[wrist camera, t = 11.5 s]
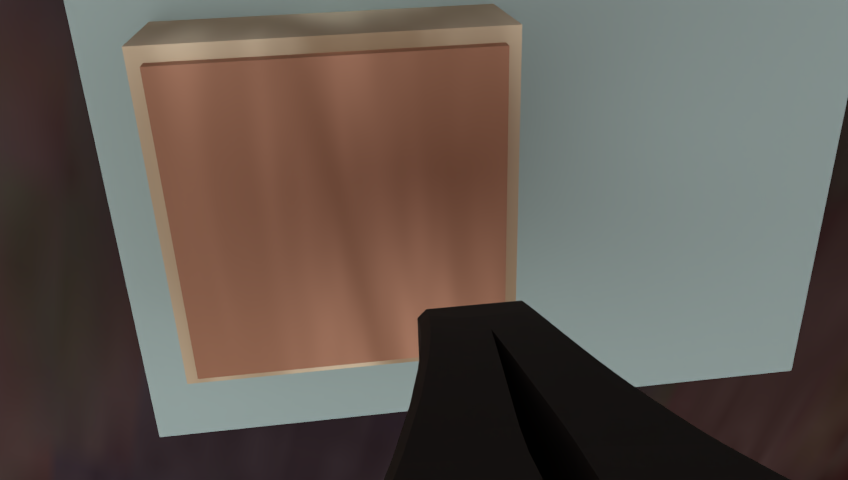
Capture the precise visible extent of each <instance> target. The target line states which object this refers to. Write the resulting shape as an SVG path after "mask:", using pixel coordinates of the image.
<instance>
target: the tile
mask: <svg viewBox="0 0 848 480" xmlns="http://www.w3.org/2000/svg"><path fill="white" fill-rule="evenodd" d="M122 51H123V56H124V61H125V66H126V71H127V76H128V82H129V87H130V92H131V97H132V102H133V107H134V112H135V118H136V123H137V128H138V133H139V138H140V143H141V148H142V154H143V159H144V164H145V169H146V174H147V179H148V184H149V189H150V195H151V200H152V205H153V210H154V215H155V220H156V225H157V231H158V236H159V241H160V246H161V251H162V256H163V261H164V267H165V272H166V277H167V282H168V287H169V292H170V297H171V303H172V308H173V313H174V318H175V323H176V328H177V333H178V339H179V344H180V349H181V354H182V359H183V364H184V369H185V375H186V380H187V384H193V383H203V382H213V381H223V380H233V379H243V378H254V377H264V376H274V375H284V374H294V373H304V372H314V371H324V370H334V369H344V368H354V367H364V366H374V365H384V364H394V363H404V362H415V361H419V346H418V320H417V318H418V317H419V316H420V315H421V314H422V313H423V312H424V311H425V310H426V309H433V308H444V307H455V306H466V305H477V304H488V303H499V302H510V301H516V278H517V234H518V190H519V147H520V103H521V59H522V24H521V23H520V22H518V21H517V20H515V19H514V18H513V17H511V16H510V15H508V14H507V13H506V12H504V11H503V10H501V9H500V8H499V7H497V6H496V5H495V4H478V5H459V6H439V7H420V8H401V9H382V10H363V11H344V12H325V13H305V14H286V15H267V16H248V17H229V18H210V19H191V20H171V21H152V22H148V23H147V24H146V25H145V26H144V27H143V28H142V29H140V30H139V31H138V32H137V33H136V34H135V35H134V36H133V37H132V38H131V39H130V40H128V41H127V42H126V43H125V44H124V45H123V46H122Z"/></svg>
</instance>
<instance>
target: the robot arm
mask: <svg viewBox="0 0 848 480" xmlns="http://www.w3.org/2000/svg"><path fill="white" fill-rule="evenodd" d="M417 320H418V346H419V364H418V371H417V375H416V379H415V384H414V388H413V393H412V397H411V402H410V406H409V409H408V413H407V416H406V419H405V422H404V425H403V428H402V431H401V434H400V437H399V440H398V443H397V446H396V449H395V452H394V455H393V458H392V461H391V463H390V466H389V468H388V471H387V473H386V476H385V478H384V480H790V479H788V478H786V477H784V476H782V475H780V474H778V473H776V472H774V471H772V470H771V469H769V468H767V467H765V466H763V465H761V464H760V463H758V462H756V461H754V460H752V459H750V458H749V457H747V456H745V455H743V454H741V453H739V452H738V451H736V450H734V449H732V448H730V447H728V446H727V445H725V444H723V443H721V442H720V441H718V440H716V439H714V438H713V437H711V436H709V435H708V434H706V433H704V432H703V431H701V430H699V429H698V428H696V427H694V426H693V425H691V424H690V423H688V422H687V421H685V420H684V419H682V418H681V417H679V416H677V415H676V414H674V413H673V412H671V411H670V410H668V409H667V408H665V407H664V406H662V405H661V404H659V403H657V402H656V401H654V400H653V399H651V398H650V397H648V396H647V395H646V394H644V393H643V392H641V391H640V390H638V389H637V388H635V387H634V386H633V385H631V384H630V383H628V382H627V381H626V380H624V379H623V378H621V377H620V376H619V375H617V374H616V373H615V372H613V371H612V370H611V369H609V368H608V367H607V366H605V365H604V364H602V363H601V362H600V361H598V360H597V359H596V358H595V357H593V356H592V355H591V354H589V353H588V352H587V351H585V350H584V349H583V348H582V347H580V346H579V345H578V344H577V343H575V342H574V341H573V340H571V339H570V338H569V337H568V336H566V335H565V334H564V333H563V332H561V331H560V330H559V329H558V328H556V327H555V326H554V325H553V324H551V323H550V322H549V321H548V320H546V319H545V318H544V317H543V316H541V315H540V314H539V313H538V312H536V311H535V310H534V309H533V308H531V307H530V306H529V305H527V304H526V303H525V302H523V301H522V300H521V301H510V302H499V303H488V304H477V305H466V306H455V307H444V308H433V309H426V310H425V311H424V312H423V313H422V314H421V315H420V316H419V317H418V318H417Z"/></svg>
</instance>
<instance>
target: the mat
mask: <svg viewBox="0 0 848 480" xmlns="http://www.w3.org/2000/svg"><path fill="white" fill-rule="evenodd" d="M64 4H65V9H66V13H67V18H68V22H69V27H70V31H71V36H72V40H73V45H74V50H75V54H76V59H77V63H78V68H79V72H80V77H81V81H82V86H83V91H84V95H85V100H86V104H87V109H88V113H89V118H90V122H91V127H92V131H93V136H94V141H95V145H96V150H97V154H98V159H99V163H100V168H101V172H102V177H103V181H104V186H105V191H106V195H107V200H108V204H109V209H110V213H111V218H112V222H113V227H114V231H115V236H116V241H117V245H118V250H119V254H120V259H121V263H122V268H123V272H124V277H125V281H126V286H127V291H128V295H129V300H130V304H131V309H132V313H133V318H134V322H135V327H136V331H137V336H138V341H139V345H140V350H141V354H142V359H143V363H144V368H145V372H146V377H147V382H148V386H149V391H150V395H151V400H152V404H153V409H154V413H155V418H156V422H157V427H158V432H159V436H160V437H166V436H175V435H185V434H194V433H204V432H213V431H223V430H232V429H242V428H251V427H261V426H270V425H280V424H289V423H299V422H308V421H318V420H327V419H337V418H346V417H356V416H365V415H375V414H384V413H393V412H403V411H408V409H409V406H410V402H411V397H412V393H413V388H414V384H415V379H416V375H417V371H418V364H419V361H415V362H404V363H394V364H384V365H374V366H364V367H354V368H344V369H334V370H324V371H314V372H304V373H294V374H284V375H274V376H264V377H254V378H243V379H233V380H223V381H213V382H203V383H193V384H187V380H186V375H185V369H184V364H183V359H182V354H181V349H180V344H179V339H178V333H177V328H176V323H175V318H174V313H173V308H172V303H171V297H170V292H169V287H168V282H167V277H166V272H165V267H164V261H163V256H162V251H161V246H160V241H159V236H158V231H157V225H156V220H155V215H154V210H153V205H152V200H151V195H150V189H149V184H148V179H147V174H146V169H145V164H144V159H143V154H142V148H141V143H140V138H139V133H138V128H137V123H136V118H135V112H134V107H133V102H132V97H131V92H130V87H129V82H128V76H127V71H126V66H125V61H124V56H123V51H122V46H123V45H124V44H125V43H126V42H127V41H128V40H130V39H131V38H132V37H133V36H134V35H135V34H136V33H137V32H138V31H139V30H140V29H142V28H143V27H144V26H145V25H146V24H147V23H148V22H152V21H171V20H191V19H210V18H229V17H248V16H267V15H286V14H305V13H325V12H344V11H363V10H382V9H401V8H420V7H439V6H459V5H478V4H495V5H496V6H497V7H499V8H500V9H501V10H503V11H504V12H506V13H507V14H508V15H510V16H511V17H513V18H514V19H515V20H517V21H518V22H520V23H521V24H522V59H521V103H520V147H519V190H518V234H517V278H516V301H521V300H522V301H523V302H525V303H526V304H527V305H529V306H530V307H531V308H533V309H534V310H535V311H536V312H538V313H539V314H540V315H541V316H543V317H544V318H545V319H546V320H548V321H549V322H550V323H551V324H553V325H554V326H555V327H556V328H558V329H559V330H560V331H561V332H563V333H564V334H565V335H566V336H568V337H569V338H570V339H571V340H573V341H574V342H575V343H577V344H578V345H579V346H580V347H582V348H583V349H584V350H585V351H587V352H588V353H589V354H591V355H592V356H593V357H595V358H596V359H597V360H598V361H600V362H601V363H602V364H604V365H605V366H607V367H608V368H609V369H611V370H612V371H613V372H615V373H616V374H617V375H619V376H620V377H621V378H623V379H624V380H626V381H627V382H628V383H630V384H631V385H633V386H634V387H640V386H650V385H659V384H669V383H678V382H688V381H697V380H707V379H716V378H726V377H735V376H745V375H754V374H764V373H773V372H782V371H791V370H792V365H793V360H794V355H795V350H796V345H797V341H798V336H799V331H800V326H801V321H802V316H803V312H804V307H805V302H806V297H807V292H808V287H809V282H810V278H811V273H812V268H813V263H814V258H815V253H816V249H817V244H818V239H819V234H820V229H821V224H822V219H823V215H824V210H825V205H826V200H827V195H828V190H829V185H830V181H831V176H832V171H833V166H834V161H835V156H836V152H837V147H838V142H839V137H840V132H841V127H842V122H843V118H844V113H845V108H846V103H847V98H848V0H64Z"/></svg>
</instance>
